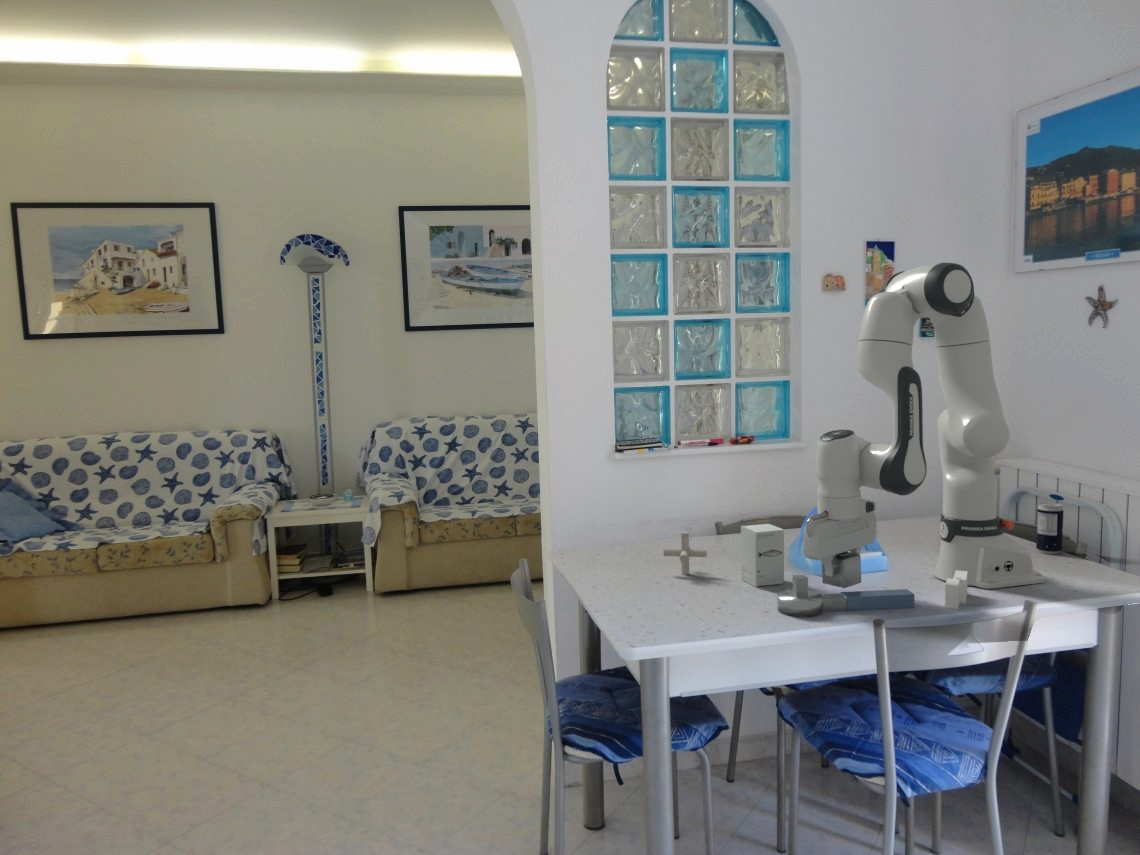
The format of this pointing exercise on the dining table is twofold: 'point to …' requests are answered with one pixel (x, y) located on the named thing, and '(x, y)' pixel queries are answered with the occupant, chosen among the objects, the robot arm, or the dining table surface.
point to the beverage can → (1049, 528)
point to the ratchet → (838, 600)
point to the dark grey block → (844, 570)
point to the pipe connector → (685, 552)
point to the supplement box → (762, 554)
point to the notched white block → (956, 589)
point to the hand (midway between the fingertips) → (841, 571)
